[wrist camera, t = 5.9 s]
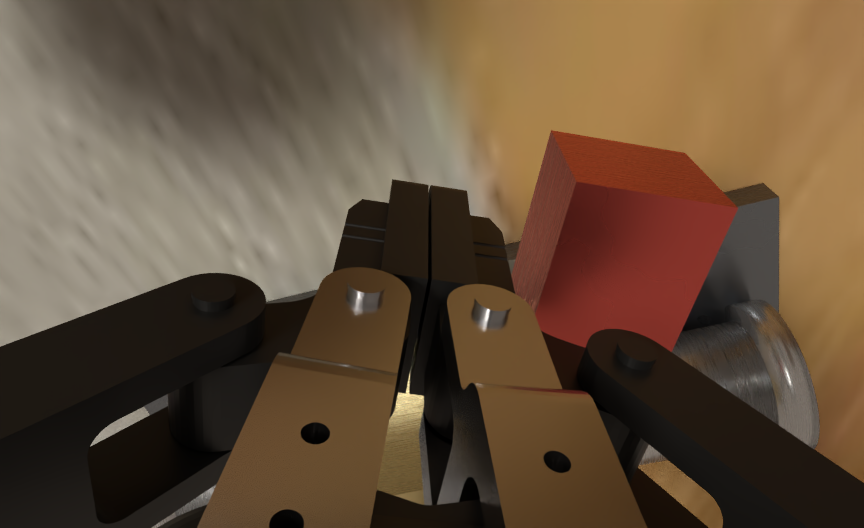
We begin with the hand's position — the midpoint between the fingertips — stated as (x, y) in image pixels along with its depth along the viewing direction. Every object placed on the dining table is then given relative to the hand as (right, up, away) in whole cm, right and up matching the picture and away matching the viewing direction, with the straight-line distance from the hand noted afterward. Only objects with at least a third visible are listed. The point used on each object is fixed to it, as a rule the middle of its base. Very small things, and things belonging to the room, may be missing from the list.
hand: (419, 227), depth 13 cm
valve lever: (+2, -5, +3) cm, 7 cm away
